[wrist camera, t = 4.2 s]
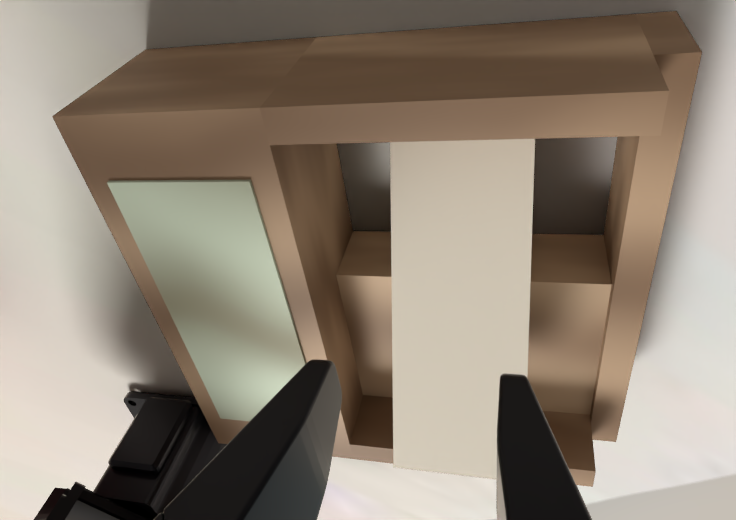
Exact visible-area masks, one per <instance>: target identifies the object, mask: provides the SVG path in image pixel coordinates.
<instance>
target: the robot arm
mask: <svg viewBox="0 0 736 520" xmlns="http://www.w3.org/2000/svg"><path fill="white" fill-rule="evenodd" d="M124 402H125V404H126V406H127V407H128V409H129V410H130V412H131V414H132V415H133V417H134V420H133V422H132V423H131V425H130V427H129V428H128V430H127V431H126V433H125V435H124V436H123V438H122V440H121V441H120V443H119V445H118V446H117V448H116V449H115V451H114V453H113V454H112V456H111V458H110V459H109V462H108V463H109V466H108V468H107V470H106V471H105V473H104V475H103V476H102V478H101V480H100V481H99V483H98V485H97V486H96V488H95V490H94V491H93V492H92V491H90V490H88V489H86V488H85V487H86V486H84V485H82V484H80V483H78V482H75V484H74V485H73V487H72V488H71V490H70V489H68V488H67V489H63V488H55V489H54V490H53V492H52V493H51V495H50V496H49V498H48V499H47V501H46V502H45V504H44V505H43V507H42V508H41V510H40V511H39V513H38V514H37V516H36V517H35V519H34V520H317V517H318V514H319V510H320V507H321V504H322V500H323V497H324V493H325V489H326V485H327V481H328V476H329V471H330V465H331V459H332V454H333V448H334V443H335V437H336V431H337V426H338V420H339V414H340V409H341V403H342V390H341V386H340V382H339V378H338V374H337V370H336V367H335V364H334V363H333V362H332V361H330V360H318V359H313V360H310V361H308V362H307V363H306V364H305V365H304V366H303V367H302V368H301V369H300V370H299V371H298V372H297V373H296V374H295V375H294V376H293V377H292V379H291V380H290V381H289V382H288V383H287V384H286V385H285V386H284V387H283V388H282V389H281V390H280V391H279V392H278V393H277V394H276V395H275V396H274V397H273V398H272V399H271V400H270V401H269V402H268V403H267V404H266V405H265V406H264V407H263V408H262V409H261V410H260V411H259V412H258V413H257V414H256V415H255V416H254V417H253V418H252V419H251V420H250V421H249V423H248V424H247V425H246V426H245V427H244V428H243V429H242V430H241V431H240V432H239V433H238V434H237V435H236V436H235V437H234V438H233V439H232V440H231V441H230V442H229V443H228V444H221V443H218V442H217V440H216V438H215V436H214V434H213V432H212V430H211V428H210V426H209V424H208V422H207V420H206V418H205V416H204V414H203V412H202V410H201V408H200V406H199V404H198V402H197V400H196V398H191V397H180V396H170V395H160V394H149V393H139V392H129V393H128V394H127V395H126V397H125V398H124ZM497 520H592V518H591V516H590V514H589V512H588V510H587V507H586V505H585V503H584V501H583V499H582V496H581V494H580V492H579V490H578V488H577V485H576V483H575V481H574V479H573V477H572V474H571V472H570V470H569V468H568V466H567V463H566V461H565V459H564V457H563V455H562V452H561V450H560V448H559V446H558V444H557V441H556V439H555V437H554V435H553V433H552V430H551V428H550V426H549V424H548V422H547V419H546V417H545V415H544V413H543V411H542V408H541V406H540V404H539V402H538V400H537V397H536V395H535V393H534V391H533V389H532V386H531V384H530V382H529V380H528V378H527V377H526V376H525V375H520V374H507V373H504V374H502V375H501V376H500V384H499V402H498V420H497Z"/></svg>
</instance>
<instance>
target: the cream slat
mask: <svg viewBox="0 0 736 520" xmlns="http://www.w3.org/2000/svg"><path fill="white" fill-rule="evenodd" d="M534 158H535V139H501V140H460V141H419V142H390V179H391V277H392V376H393V467H394V468H403V469H411V470H420V471H428V472H437V473H445V474H454V475H462V476H471V477H479V478H487V479H496V480H497V420H498V402H499V384H500V376H501V375H502V374H504V373H507V374H520V375H525V376H526V377H527V374H528V343H529V313H530V282H531V251H532V220H533V189H534Z"/></svg>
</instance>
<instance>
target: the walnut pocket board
mask: <svg viewBox="0 0 736 520" xmlns="http://www.w3.org/2000/svg"><path fill="white" fill-rule="evenodd" d="M701 55H702V51H701V50H700V48H699V46H698V45H697V43H696V42H695V40H694V38H693V37H692V35H691V34H690V32H689V30H688V29H687V27H686V26H685V24H684V22H683V21H682V19H681V18H680V16H679V14H678V13H677V11H670V12H656V13H643V14H629V15H615V16H601V17H588V18H574V19H560V20H546V21H532V22H519V23H505V24H491V25H477V26H464V27H450V28H436V29H422V30H409V31H395V32H381V33H367V34H353V35H340V36H326V37H312V38H298V39H285V40H271V41H257V42H243V43H230V44H216V45H202V46H188V47H174V48H161V49H147V50H144V51H143V52H141V53H140V54H139V55H137V56H136V57H134V58H133V59H132V60H130V61H129V62H127V63H126V64H125V65H123V66H122V67H121V68H119V69H118V70H116V71H115V72H114V73H112V74H111V75H109V76H108V77H107V78H105V79H104V80H102V81H101V82H100V83H98V84H97V85H95V86H94V87H93V88H91V89H90V90H88V91H87V92H86V93H84V94H83V95H82V96H80V97H79V98H77V99H76V100H75V101H73V102H72V103H70V104H69V105H68V106H66V107H65V108H63V109H62V110H61V111H59V112H58V113H56V114H55V115H54V116H52V117H53V119H54V121H55V123H56V125H57V127H58V129H59V131H60V133H61V135H62V137H63V139H64V141H65V143H66V144H67V146H68V148H69V150H70V152H71V154H72V156H73V158H74V160H75V162H76V164H77V166H78V168H79V170H80V172H81V174H82V176H83V178H84V180H85V182H86V184H87V186H88V188H89V190H90V192H91V194H92V196H93V198H94V200H95V202H96V204H97V205H98V207H99V209H100V211H101V213H102V215H103V217H104V219H105V221H106V223H107V225H108V227H109V229H110V231H111V233H112V235H113V237H114V239H115V241H116V243H117V245H118V247H119V249H120V251H121V253H122V255H123V257H124V259H125V261H126V263H127V264H128V266H129V268H130V270H131V272H132V274H133V276H134V278H135V280H136V282H137V284H138V286H139V288H140V290H141V292H142V294H143V296H144V298H145V300H146V302H147V304H148V306H149V308H150V310H151V312H152V314H153V316H154V318H155V320H156V322H157V324H158V325H159V327H160V329H161V331H162V333H163V335H164V337H165V339H166V341H167V343H168V345H169V347H170V349H171V351H172V353H173V355H174V357H175V359H176V361H177V363H178V365H179V367H180V369H181V371H182V373H183V375H184V377H185V379H186V381H187V383H188V384H189V386H190V388H191V390H192V392H193V394H194V396H195V398H196V400H197V402H198V404H199V406H200V408H201V410H202V412H203V414H204V416H205V418H206V420H207V422H208V424H209V426H210V428H211V430H212V432H213V434H214V436H215V438H216V440H217V442H218V443H221V444H228V443H229V442H230V441H231V440H232V439H233V438H234V437H235V436H236V435H237V434H238V433H239V432H240V431H241V430H242V429H243V428H244V427H245V426H246V425H247V424H248V423H249V421H250V420H251V419H252V418H253V417H254V416H255V415H256V414H257V413H258V412H259V411H260V410H261V409H262V408H263V407H264V406H265V405H266V404H267V403H268V402H269V401H270V400H271V399H272V398H273V397H274V396H275V395H276V394H277V393H278V392H279V391H280V390H281V389H282V388H283V387H284V386H285V385H286V384H287V383H288V382H289V381H290V380H291V379H292V377H293V376H294V375H295V374H296V373H297V372H298V371H299V370H300V369H301V368H302V367H303V366H304V365H305V364H306V363H307V362H308V361H310V360H313V359H318V360H330V361H332V362H333V363H334V364H335V367H336V370H337V374H338V378H339V382H340V386H341V390H342V403H341V409H340V414H339V420H338V426H337V431H336V437H335V443H334V448H333V454H332V456H333V457H342V458H350V459H359V460H368V461H376V462H385V463H393V376H392V277H391V232H381V231H353V228H352V223H351V217H350V212H349V207H348V201H347V196H346V191H345V185H344V180H343V175H342V169H341V164H340V159H339V153H338V148H337V143H378V142H419V141H460V140H501V139H542V138H584V137H618V138H617V145H616V151H615V158H614V165H613V172H612V179H611V186H610V193H609V200H608V207H607V214H606V221H605V228H604V235H582V234H532V251H531V282H530V313H529V343H528V374H527V378H528V380H529V382H530V384H531V386H532V389H533V391H534V393H535V395H536V397H537V400H538V402H539V404H540V406H541V408H542V411H543V413H544V415H545V417H546V419H547V422H548V424H549V426H550V428H551V430H552V433H553V435H554V437H555V439H556V441H557V444H558V446H559V448H560V450H561V452H562V455H563V457H564V459H565V461H566V463H567V466H568V468H569V470H570V472H571V474H572V477H573V479H574V481H575V483H576V485H583V486H591V487H593V482H594V477H595V461H594V451H593V440H603V441H613V442H616V439H617V435H618V430H619V426H620V421H621V417H622V412H623V408H624V403H625V399H626V394H627V390H628V385H629V380H630V376H631V371H632V367H633V362H634V358H635V353H636V349H637V344H638V340H639V335H640V331H641V326H642V322H643V317H644V313H645V308H646V303H647V299H648V294H649V290H650V285H651V281H652V276H653V272H654V267H655V263H656V258H657V254H658V249H659V245H660V240H661V236H662V231H663V227H664V222H665V217H666V213H667V208H668V204H669V199H670V195H671V190H672V186H673V181H674V177H675V172H676V168H677V163H678V159H679V154H680V150H681V145H682V141H683V136H684V131H685V127H686V122H687V118H688V113H689V109H690V104H691V100H692V95H693V91H694V86H695V82H696V77H697V73H698V68H699V64H700V59H701Z"/></svg>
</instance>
